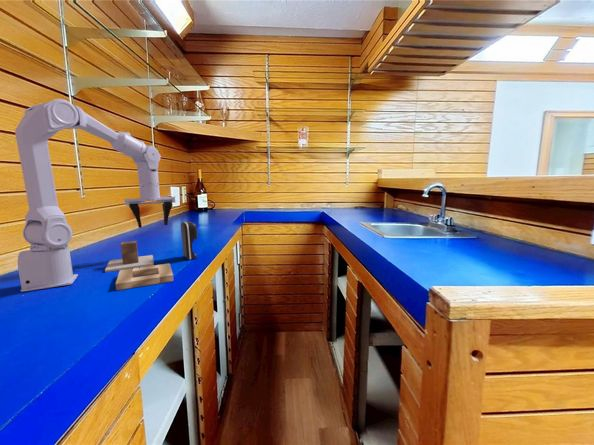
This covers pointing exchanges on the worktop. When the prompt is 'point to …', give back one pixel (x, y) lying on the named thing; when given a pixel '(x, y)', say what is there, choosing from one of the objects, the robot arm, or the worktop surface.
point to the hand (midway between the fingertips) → (153, 226)
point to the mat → (118, 264)
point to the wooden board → (127, 280)
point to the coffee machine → (188, 238)
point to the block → (129, 252)
